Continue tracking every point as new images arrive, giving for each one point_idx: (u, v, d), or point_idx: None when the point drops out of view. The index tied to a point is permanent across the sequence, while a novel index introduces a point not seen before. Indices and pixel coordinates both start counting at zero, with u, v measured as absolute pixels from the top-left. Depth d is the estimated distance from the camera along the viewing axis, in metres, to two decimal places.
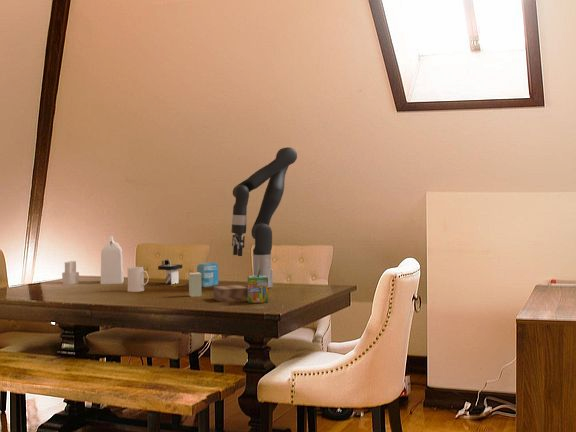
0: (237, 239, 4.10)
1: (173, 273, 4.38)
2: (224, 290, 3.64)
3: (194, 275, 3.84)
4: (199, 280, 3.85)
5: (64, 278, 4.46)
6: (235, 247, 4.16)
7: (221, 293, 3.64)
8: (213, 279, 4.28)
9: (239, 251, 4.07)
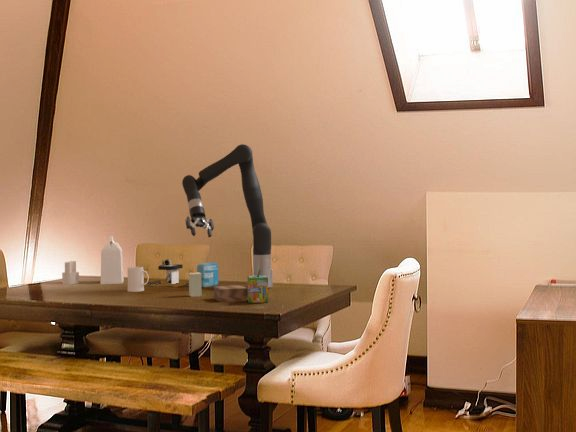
0: None
1: (173, 273, 4.38)
2: (224, 290, 3.65)
3: (194, 275, 3.84)
4: (199, 280, 3.85)
5: (64, 278, 4.46)
6: (208, 230, 4.02)
7: (221, 293, 3.64)
8: (213, 279, 4.28)
9: (191, 231, 3.97)
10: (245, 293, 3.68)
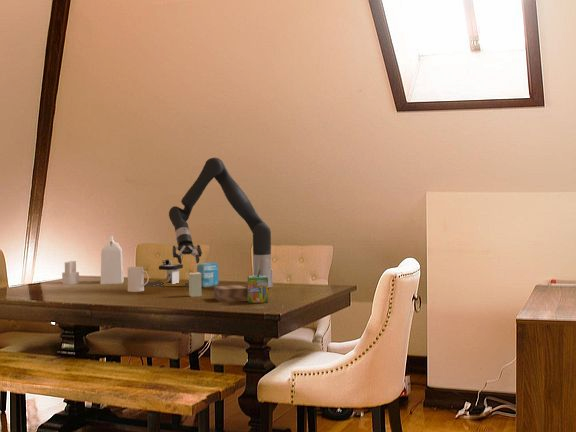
0: None
1: (173, 273, 4.38)
2: (223, 290, 3.65)
3: (194, 275, 3.84)
4: (199, 280, 3.85)
5: (64, 278, 4.46)
6: (195, 256, 4.01)
7: (220, 293, 3.64)
8: (213, 279, 4.28)
9: None
10: (245, 293, 3.67)
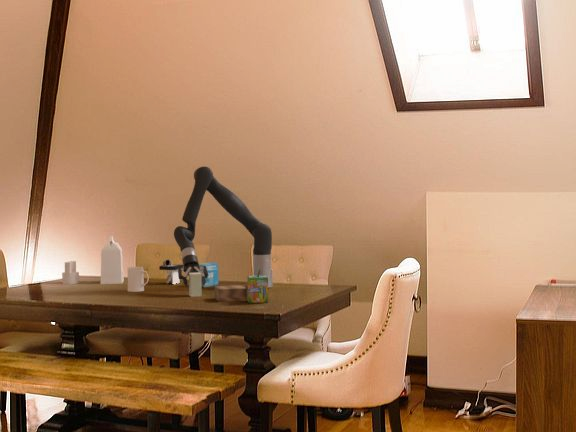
0: None
1: (174, 273, 4.38)
2: (222, 290, 3.65)
3: (194, 275, 3.84)
4: (199, 280, 3.85)
5: (64, 278, 4.46)
6: (202, 277, 3.90)
7: (219, 293, 3.65)
8: (213, 279, 4.28)
9: (183, 281, 3.86)
10: (244, 293, 3.67)
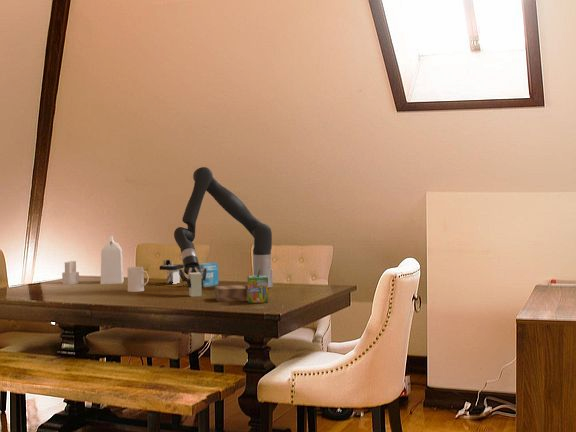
0: (188, 274, 3.91)
1: (174, 273, 4.38)
2: (222, 290, 3.65)
3: (194, 275, 3.84)
4: (199, 280, 3.85)
5: (64, 278, 4.46)
6: None
7: (219, 293, 3.65)
8: (213, 279, 4.28)
9: (187, 284, 3.86)
10: (244, 293, 3.67)
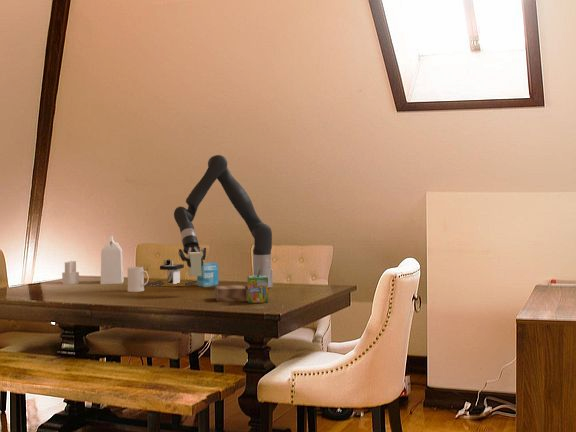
0: None
1: (175, 273, 4.38)
2: (222, 290, 3.65)
3: (194, 254, 3.84)
4: (199, 259, 3.85)
5: (64, 278, 4.46)
6: None
7: (218, 293, 3.65)
8: (213, 279, 4.28)
9: (187, 263, 3.86)
10: (243, 293, 3.67)
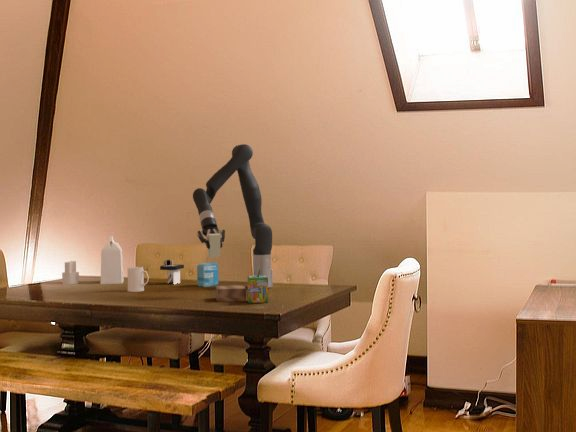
0: None
1: (175, 273, 4.38)
2: (221, 290, 3.65)
3: (213, 236, 3.82)
4: (218, 241, 3.83)
5: (64, 278, 4.46)
6: None
7: (218, 293, 3.65)
8: (213, 279, 4.28)
9: (206, 245, 3.84)
10: (243, 293, 3.67)
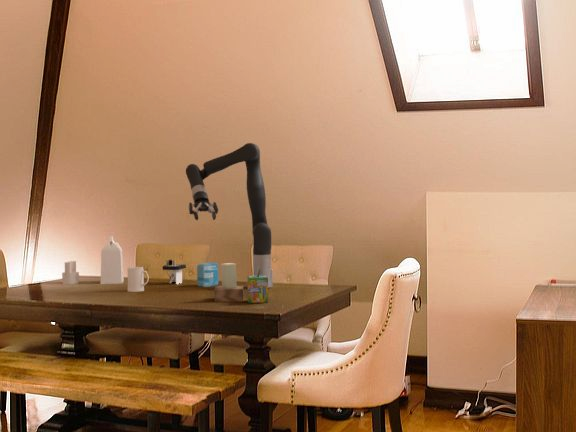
0: None
1: (177, 273, 4.38)
2: (218, 290, 3.65)
3: (229, 266, 3.69)
4: (234, 271, 3.70)
5: (64, 278, 4.46)
6: (212, 213, 4.01)
7: (215, 293, 3.65)
8: (213, 279, 4.28)
9: (194, 216, 3.97)
10: (240, 294, 3.65)
